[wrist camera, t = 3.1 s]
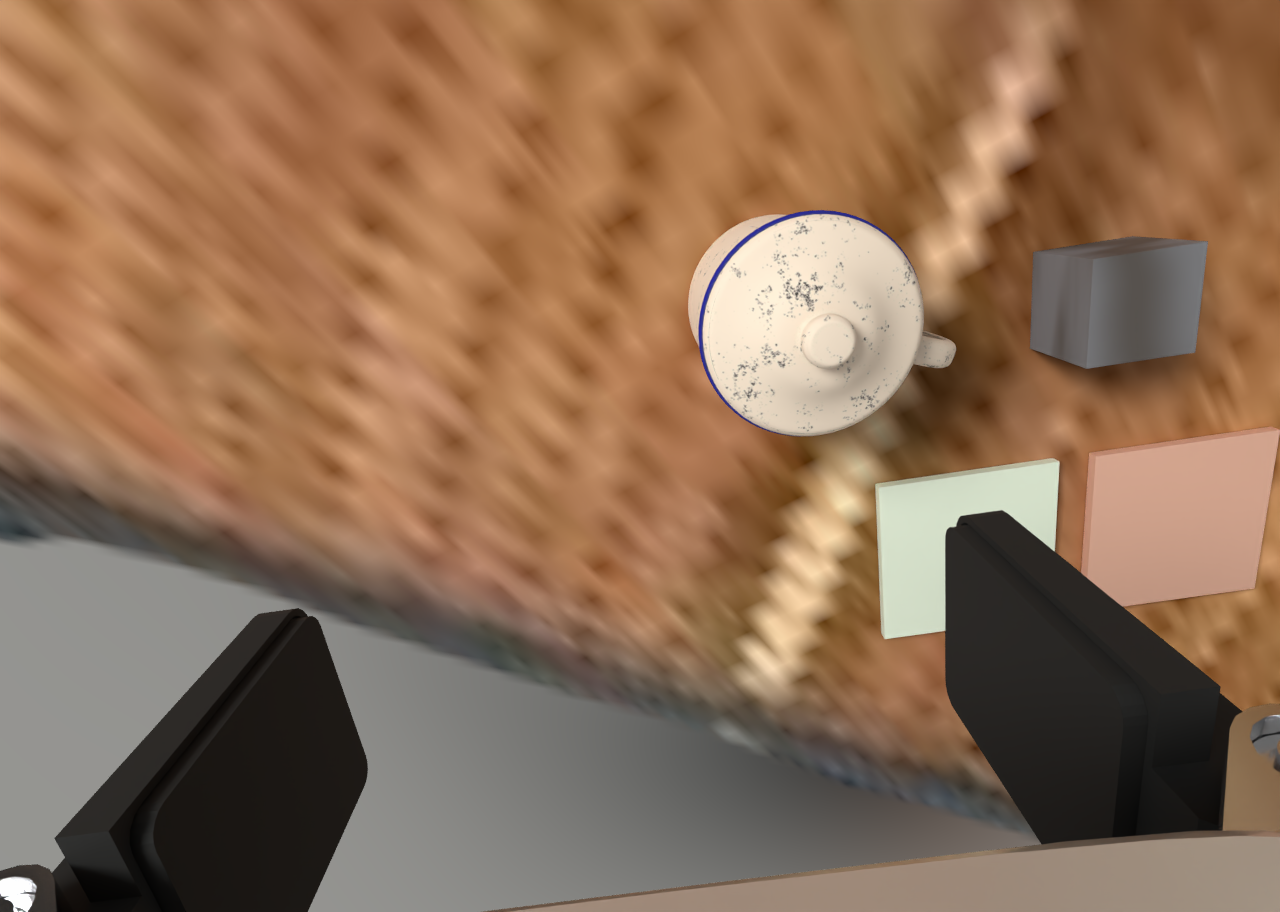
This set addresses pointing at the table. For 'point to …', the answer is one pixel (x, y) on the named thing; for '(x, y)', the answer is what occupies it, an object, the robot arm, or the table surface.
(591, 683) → the table surface
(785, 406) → the teacup with lid
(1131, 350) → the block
